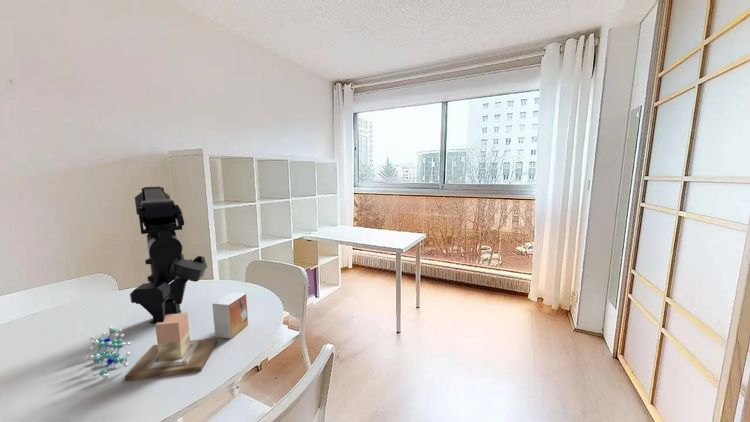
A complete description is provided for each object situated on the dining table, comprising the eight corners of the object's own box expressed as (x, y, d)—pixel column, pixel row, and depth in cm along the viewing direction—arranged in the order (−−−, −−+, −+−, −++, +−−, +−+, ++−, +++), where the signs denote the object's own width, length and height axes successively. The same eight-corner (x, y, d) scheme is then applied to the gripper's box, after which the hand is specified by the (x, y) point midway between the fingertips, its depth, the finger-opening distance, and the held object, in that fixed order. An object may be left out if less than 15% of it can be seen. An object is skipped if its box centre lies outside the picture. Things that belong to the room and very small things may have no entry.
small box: (231, 339, 81) (228, 305, 80) (214, 337, 82) (211, 303, 81) (249, 324, 89) (246, 293, 88) (233, 322, 90) (230, 291, 89)
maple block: (159, 362, 70) (157, 344, 69) (169, 350, 75) (167, 332, 74) (182, 359, 71) (180, 341, 70) (190, 347, 76) (188, 330, 75)
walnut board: (125, 381, 65) (124, 373, 65) (153, 349, 77) (152, 342, 77) (201, 370, 69) (200, 363, 68) (217, 341, 80) (217, 335, 80)
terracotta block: (157, 343, 69) (155, 325, 68) (167, 332, 74) (165, 314, 73) (180, 341, 70) (178, 322, 69) (189, 330, 75) (187, 312, 74)
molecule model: (127, 341, 81) (124, 318, 80) (136, 372, 68) (132, 344, 67) (87, 355, 75) (83, 329, 74) (88, 390, 63) (83, 361, 62)
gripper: (183, 262, 61) (190, 328, 64) (213, 241, 79) (218, 293, 82) (124, 266, 59) (133, 335, 61) (168, 243, 77) (174, 297, 79)
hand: (170, 312), depth 71 cm, fingers open, 9 cm apart
